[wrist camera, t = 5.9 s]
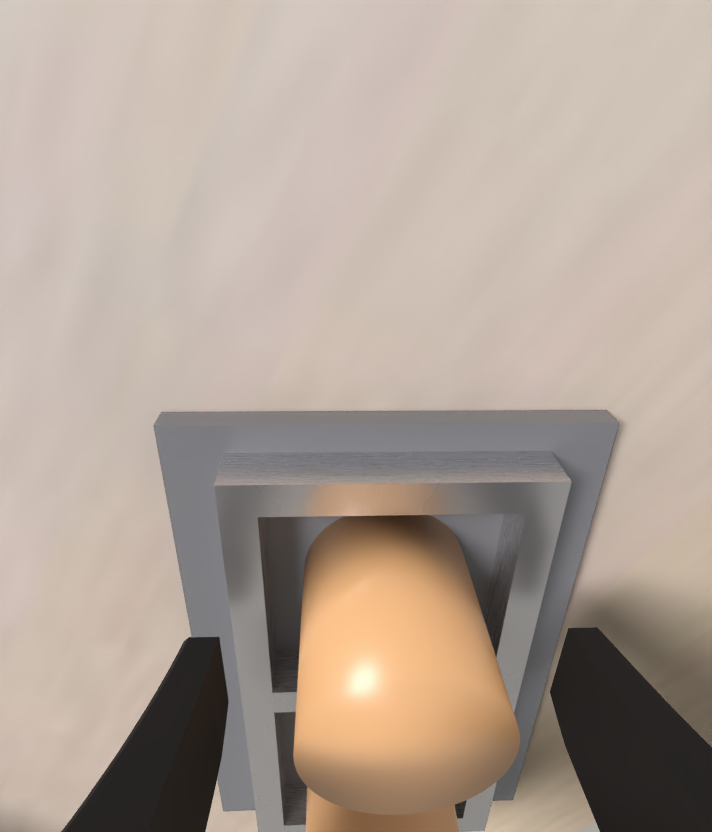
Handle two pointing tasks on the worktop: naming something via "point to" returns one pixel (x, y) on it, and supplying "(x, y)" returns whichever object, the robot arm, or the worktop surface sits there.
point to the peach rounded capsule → (397, 671)
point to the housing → (370, 496)
